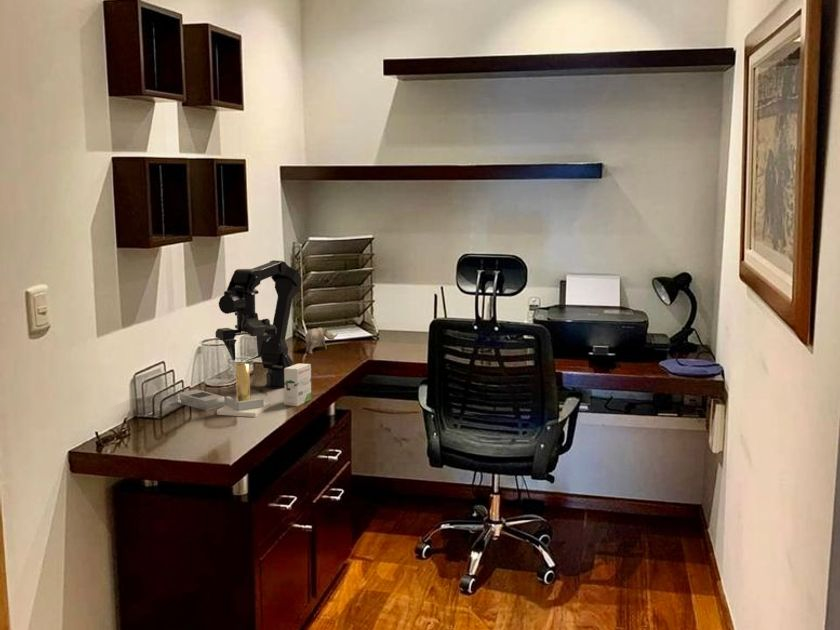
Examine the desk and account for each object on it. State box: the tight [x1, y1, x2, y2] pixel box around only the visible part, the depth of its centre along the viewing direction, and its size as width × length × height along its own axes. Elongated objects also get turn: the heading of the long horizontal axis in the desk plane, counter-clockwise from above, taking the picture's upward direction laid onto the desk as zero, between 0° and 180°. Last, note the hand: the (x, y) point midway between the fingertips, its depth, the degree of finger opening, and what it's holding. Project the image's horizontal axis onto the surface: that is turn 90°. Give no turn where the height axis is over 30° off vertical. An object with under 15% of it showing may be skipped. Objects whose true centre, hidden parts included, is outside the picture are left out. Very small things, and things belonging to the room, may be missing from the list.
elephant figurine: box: [304, 327, 339, 355], centre depth 343 cm, size 8×14×15 cm
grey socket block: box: [179, 389, 225, 412], centre depth 258 cm, size 14×7×3 cm, turn 52°
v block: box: [216, 395, 270, 418], centre depth 252 cm, size 12×12×4 cm
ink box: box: [283, 363, 312, 407], centre depth 261 cm, size 9×5×12 cm, turn 156°
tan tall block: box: [235, 362, 251, 401], centre depth 251 cm, size 4×4×13 cm
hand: (246, 358), depth 264 cm, fingers open, 9 cm apart
